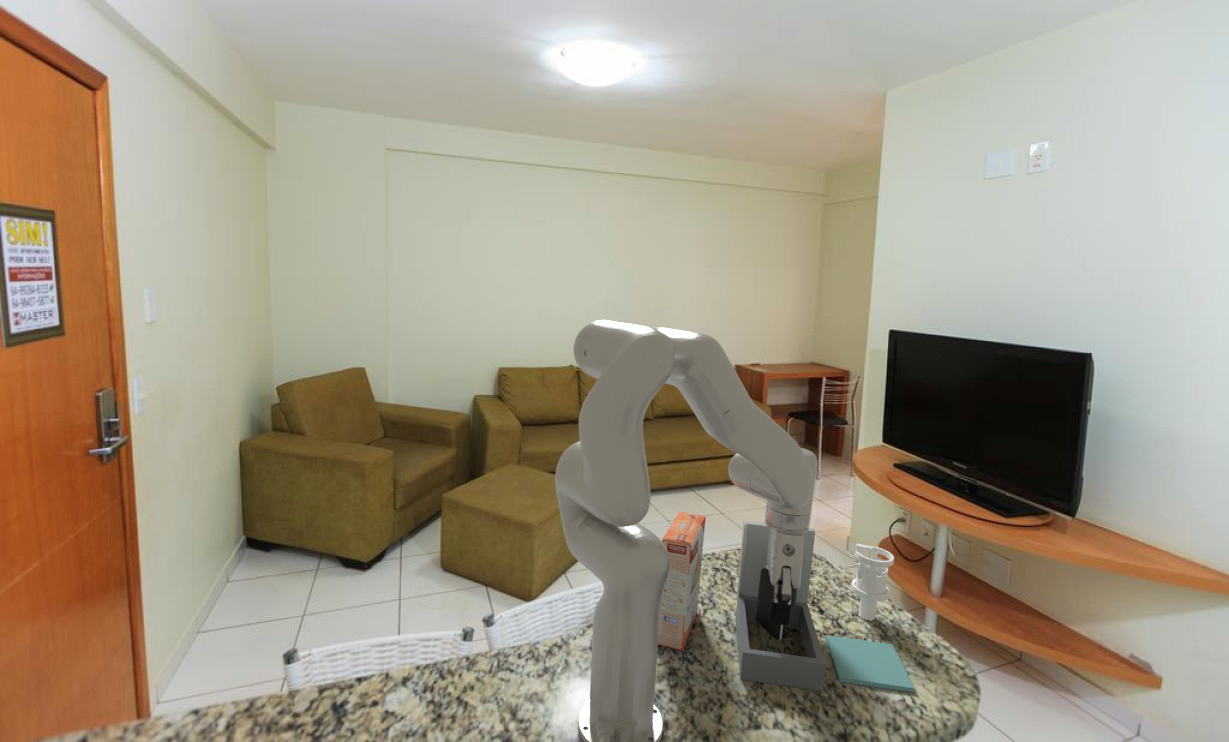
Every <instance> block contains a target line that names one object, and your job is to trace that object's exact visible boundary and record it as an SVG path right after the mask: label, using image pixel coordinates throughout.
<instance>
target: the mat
mask: <svg viewBox="0 0 1229 742" xmlns="http://www.w3.org/2000/svg"><path fill="white" fill-rule="evenodd" d="M825 642H826V646H827V649H828V651H829V654H830V657H831V660H832V664H833V666H834V669H835V673H836V676H837V679H838V682H839V683H845V684H846V683H847V684H853V685H860V686H867V687H873V688H874V687H875V688H879V689H880V688H881V689H887V690H894V691H899V690H900V692H908V693H913V694H914V693H915V690H916V687H915V686H914V684H913V682H912V680H911V678H910V677H909V674H908V672H907V669H906V668H905V666H904V664H903V662H902V660H901V658H900V657H899V654H898V653H897V650H896V649H895V647H894V645H893V643H885V642H884V643H883V642H879V641H878V642H876V641H870V640H865V639H864V640H863V639H855V638H848V637H841V636H834V635H828V634H827V635H825Z"/></svg>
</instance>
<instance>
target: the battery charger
mask: <svg viewBox="0 0 1229 742" xmlns="http://www.w3.org/2000/svg"><path fill="white" fill-rule="evenodd" d="M781 572H782V571H781ZM777 584H782V581H778V582H777ZM791 587H792V588H791V607H794V606H795V604H796V597H797V590H796V589H794V588H793V585H791ZM781 591H782V588H778V594H779V593H781ZM772 600H774V586H773V585H772V584H771V581H770V577H769V570H768V566H765V567H763V568H762V570H761V573H760V580H759V589H758V602H757V611H756V621H757V622H758V624H757V625H759V626H760V627H761V628H762V629H763V630H764V631H766V633H767V634H769V636H770V637H772V638H773V639H774V640H775V641H782V640H785V639H786V638H788V637H789V633H788V631H787V628H786V625H780V624H774V623H770V620H769V618H770V610H771V601H772Z"/></svg>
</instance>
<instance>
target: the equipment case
mask: <svg viewBox="0 0 1229 742" xmlns="http://www.w3.org/2000/svg"><path fill="white" fill-rule="evenodd" d="M741 533H742V536H741V546H740V547H741V548H740V557H739V570H738V581H737V596H736V598H737V599H736V607H735V625H736V627H735V628H736V638H737V652H738V666H739V669H738V670H739V679H740V680H745V681H751V682H756V683H763V684H771V685H777V686H785V687H791V688H797V689H803V690H810V691H816V692H824V691H823V690H824V685H825V684H824V682H825V676H826V675H825V674H826V666H827V663H826V661H825V660H826V659H825V657H824V655H823V651H822V647H821V644H820V641H819V637H818V634H817V631H816V627H815V625H814V621H813V618H812V615H811V610H810V608H809V605H808V604H809V603H808V601H809V591H810V584H811V583H810V581H811V574H812V564H813V554H814V548H815V547H814V545H815V538H816V537H815V536H816V530H815V528H810V527H809V531H808V532H806V533H803V538H804V541H803V561H802V573H801V585H800V588H799V589H798V590H797V597H796V604H795V606H794V607H791V609H790V617H789V624H788V625H786V629H793V630H799V632H800V633H799V634H800V637H801V641H802V644H803V649H804V652H805V656H801V655H796V654H795V655H794V654H787V653H780V652H773V651H766V650H762V649H761V650H759V649H752V648H750V641H749V632H748V623H749V624H756V625H759V624H758V622H757V621H756V611H757V602H758V589H759V580H760V573H761V570H762V568H763V567H765V566H767V551H768V541H769V533H770V527H768V526H767V525H766V524H765V522H756V521H749V520H746V521H745V520H744V521H743V524H742V532H741Z"/></svg>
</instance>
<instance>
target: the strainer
mask: <svg viewBox="0 0 1229 742" xmlns="http://www.w3.org/2000/svg"><path fill="white" fill-rule="evenodd" d="M867 551H868V552H869V553H870V554H871V556H870V558H869V557H866V556H864V555H863V554H862V553H863V552H864V553H865V552H867ZM854 552H855V554H854V562H855V563H857V564H858V565H857V572H856V578H854V579H852V581H851V587H850V588H851V591H852V592H853V593H854V594H855V595H856V596H858V597H860V601H859V610H858V617H859V616H860V617H861V619H862V618H863V619H862V620H864V619H865V620H864V621H867V620H869V621H868V622H873V621H872V620H874V619H875V620H876V611H877V605H878V602H885V601H887V600H889V598H890V589H889V587H888V586H887V582H888V573H889V567H891V566H893V565H894V562H895V556H894V554H892V553H891V552H890V551H888V550H886V549H884V548H881V547H878V546H873V545H868V544H867V545H866V544H862V543H856V545H855V551H854ZM878 554H879V555H881V556H884V557H885V558H887V559H886V560H885V559H882V558H881V557H878ZM860 617H859V618H860ZM875 620H874V621H875Z"/></svg>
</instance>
